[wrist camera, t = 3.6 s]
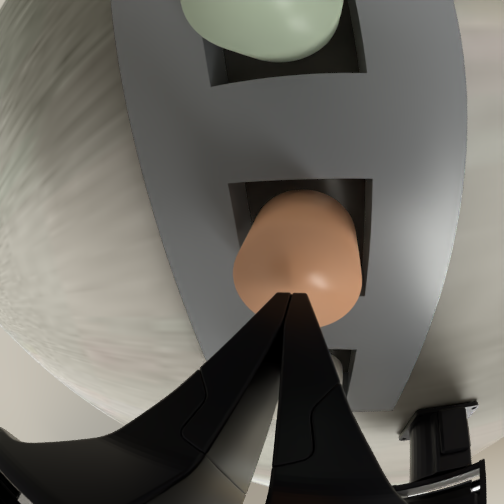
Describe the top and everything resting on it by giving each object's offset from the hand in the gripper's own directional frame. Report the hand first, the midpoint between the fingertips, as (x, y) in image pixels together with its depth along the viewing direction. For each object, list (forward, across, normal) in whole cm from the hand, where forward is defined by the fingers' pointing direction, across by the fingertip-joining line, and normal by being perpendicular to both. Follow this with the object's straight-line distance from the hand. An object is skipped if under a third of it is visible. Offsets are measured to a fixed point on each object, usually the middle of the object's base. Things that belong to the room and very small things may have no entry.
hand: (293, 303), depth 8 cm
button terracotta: (+4, 0, 0) cm, 4 cm away
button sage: (+4, 0, -8) cm, 9 cm away
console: (+5, 0, 0) cm, 5 cm away
